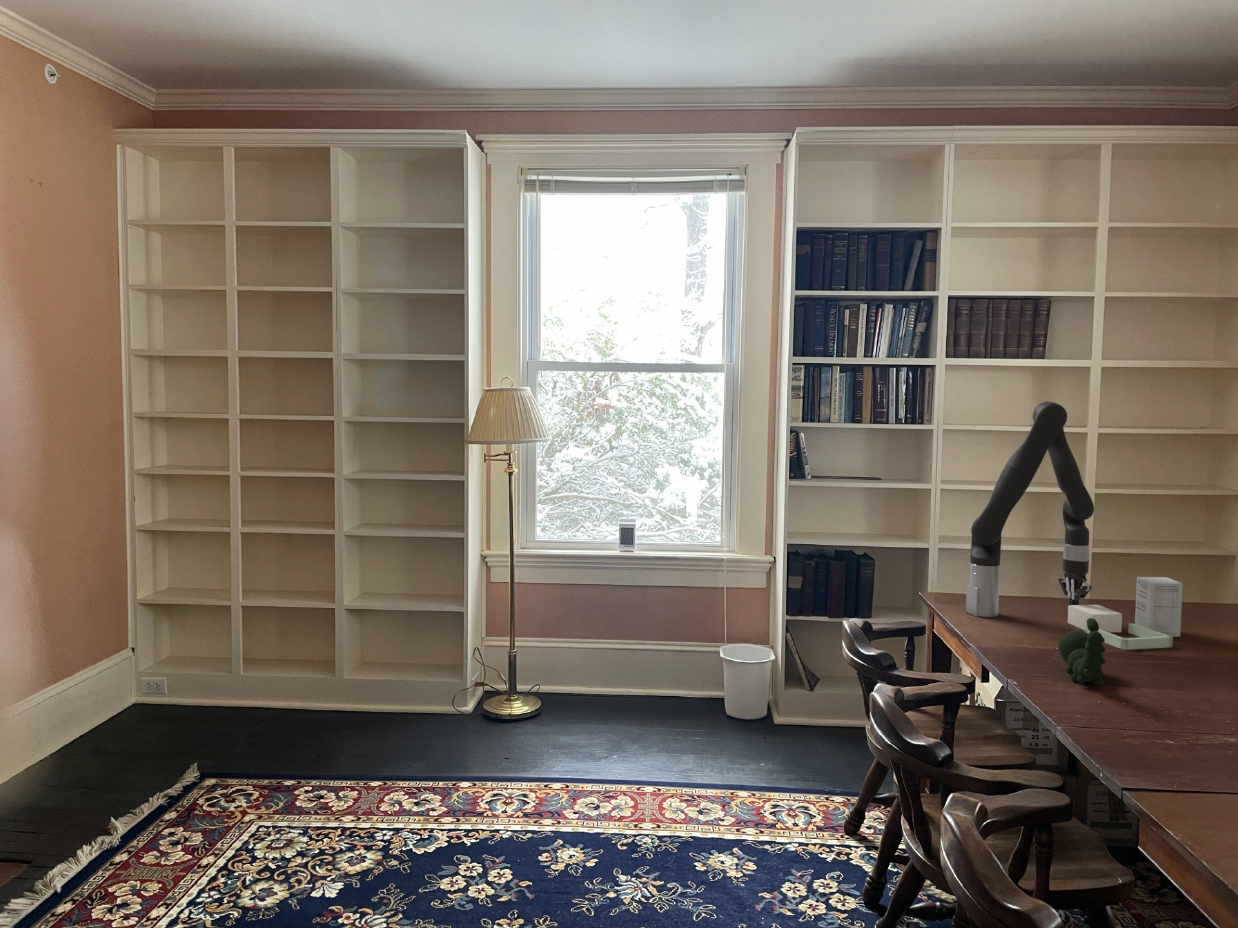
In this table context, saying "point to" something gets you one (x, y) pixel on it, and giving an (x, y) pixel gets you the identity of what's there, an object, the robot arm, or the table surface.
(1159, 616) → the supplement box
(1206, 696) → the table surface
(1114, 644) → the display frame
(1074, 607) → the carton
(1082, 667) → the toy figurine
